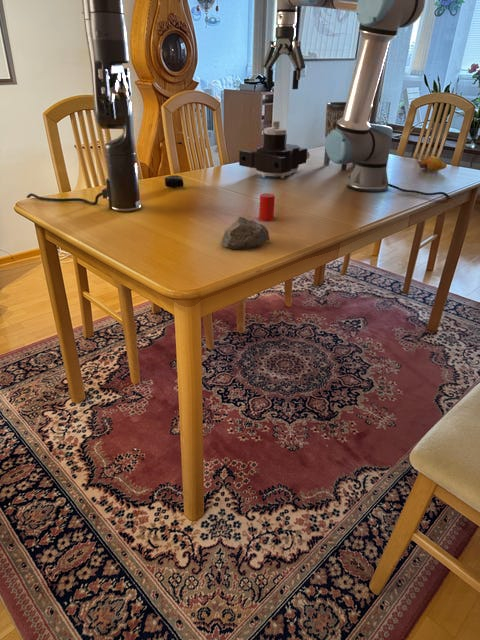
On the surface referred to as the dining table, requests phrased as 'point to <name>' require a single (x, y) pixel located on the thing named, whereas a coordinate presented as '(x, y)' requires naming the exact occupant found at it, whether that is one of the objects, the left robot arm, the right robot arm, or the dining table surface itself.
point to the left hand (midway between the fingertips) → (118, 118)
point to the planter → (332, 116)
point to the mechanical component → (274, 154)
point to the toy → (432, 164)
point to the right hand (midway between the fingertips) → (282, 88)
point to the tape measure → (174, 181)
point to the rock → (245, 234)
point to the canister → (266, 207)
